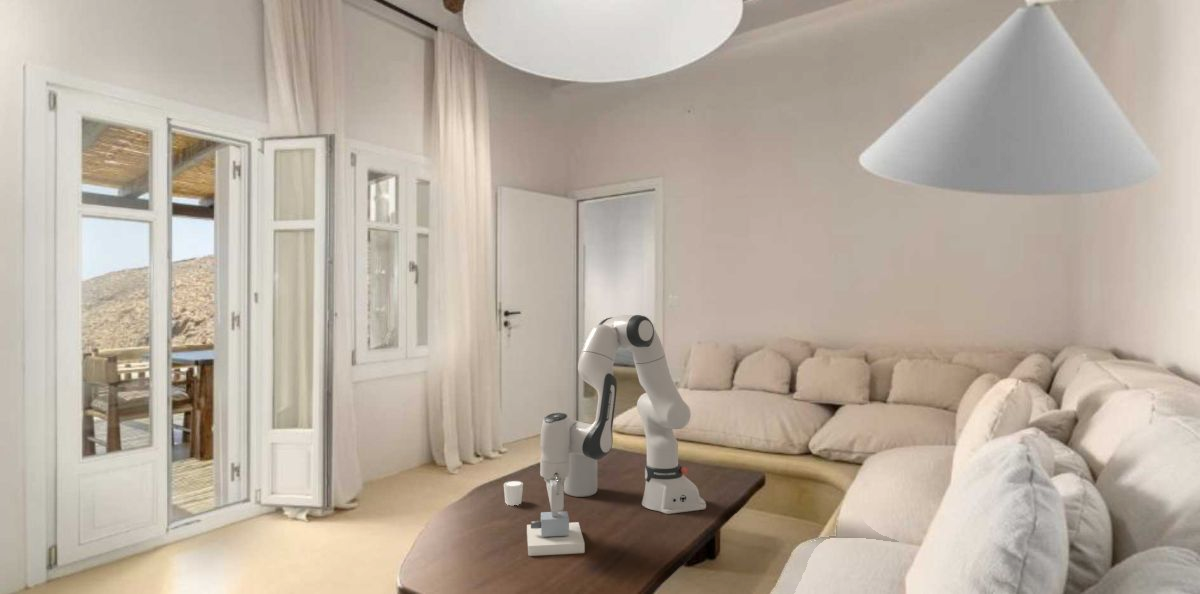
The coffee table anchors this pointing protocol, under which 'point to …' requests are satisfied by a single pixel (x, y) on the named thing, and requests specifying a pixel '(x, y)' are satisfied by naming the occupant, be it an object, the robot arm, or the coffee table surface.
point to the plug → (553, 524)
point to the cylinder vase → (581, 476)
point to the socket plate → (555, 542)
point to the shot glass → (513, 492)
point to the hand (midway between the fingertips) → (554, 515)
